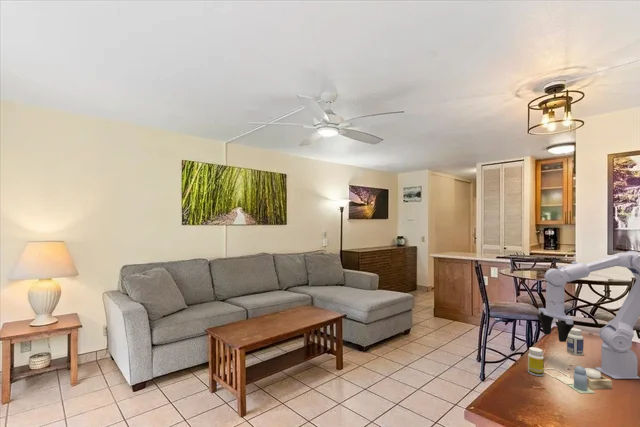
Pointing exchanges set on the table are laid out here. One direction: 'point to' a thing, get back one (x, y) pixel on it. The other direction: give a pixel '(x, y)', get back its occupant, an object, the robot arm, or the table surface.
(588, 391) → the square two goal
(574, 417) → the table surface
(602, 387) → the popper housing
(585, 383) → the pawn
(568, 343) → the pill bottle
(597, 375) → the dome
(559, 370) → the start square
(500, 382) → the table surface
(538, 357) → the supplement bottle
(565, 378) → the square
